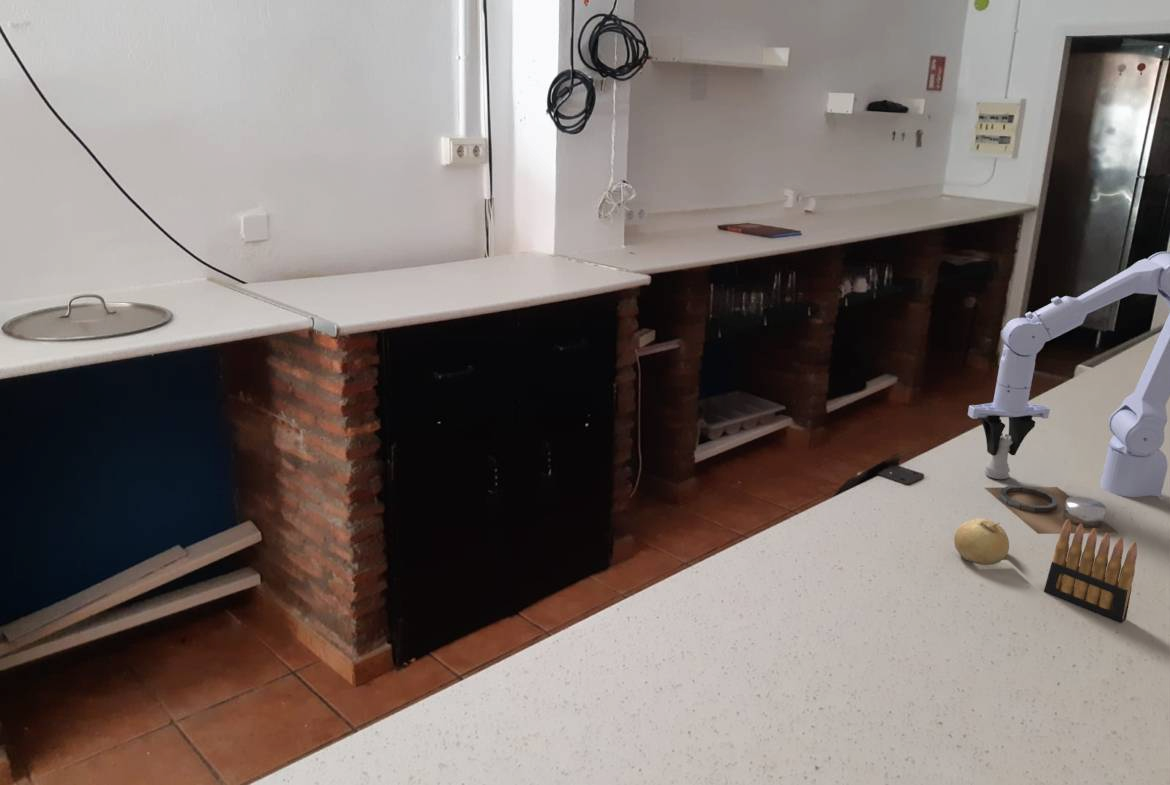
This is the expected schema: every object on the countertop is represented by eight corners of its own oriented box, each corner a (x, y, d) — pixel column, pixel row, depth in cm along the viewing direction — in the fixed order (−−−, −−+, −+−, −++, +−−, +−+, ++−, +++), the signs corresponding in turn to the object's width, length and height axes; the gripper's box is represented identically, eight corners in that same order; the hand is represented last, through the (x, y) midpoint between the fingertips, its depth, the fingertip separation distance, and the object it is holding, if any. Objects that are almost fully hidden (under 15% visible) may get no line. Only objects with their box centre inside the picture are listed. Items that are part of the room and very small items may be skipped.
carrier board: (1056, 491, 169) (1057, 486, 169) (1117, 537, 152) (1118, 532, 152) (983, 492, 168) (984, 487, 168) (1036, 538, 151) (1037, 533, 151)
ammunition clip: (1126, 619, 128) (1145, 542, 125) (1121, 623, 127) (1139, 546, 123) (1048, 588, 136) (1064, 514, 132) (1043, 592, 135) (1058, 518, 131)
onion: (943, 558, 144) (950, 517, 142) (963, 541, 150) (970, 502, 147) (995, 576, 139) (1003, 534, 137) (1013, 558, 144) (1021, 518, 142)
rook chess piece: (1004, 471, 175) (1013, 432, 172) (1012, 481, 171) (1021, 441, 168) (980, 469, 175) (988, 430, 172) (987, 478, 171) (995, 439, 168)
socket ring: (1038, 490, 167) (1039, 485, 167) (1067, 512, 158) (1068, 507, 158) (990, 490, 166) (991, 485, 166) (1016, 513, 158) (1017, 507, 157)
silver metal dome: (1088, 512, 159) (1092, 496, 158) (1110, 528, 153) (1113, 511, 152) (1055, 512, 158) (1058, 496, 157) (1075, 528, 153) (1079, 512, 152)
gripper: (1039, 377, 171) (1026, 445, 176) (965, 377, 170) (953, 445, 174) (1061, 389, 165) (1047, 459, 169) (983, 389, 163) (971, 460, 168)
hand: (1001, 453), depth 171 cm, fingers closed on rook chess piece, 3 cm apart
